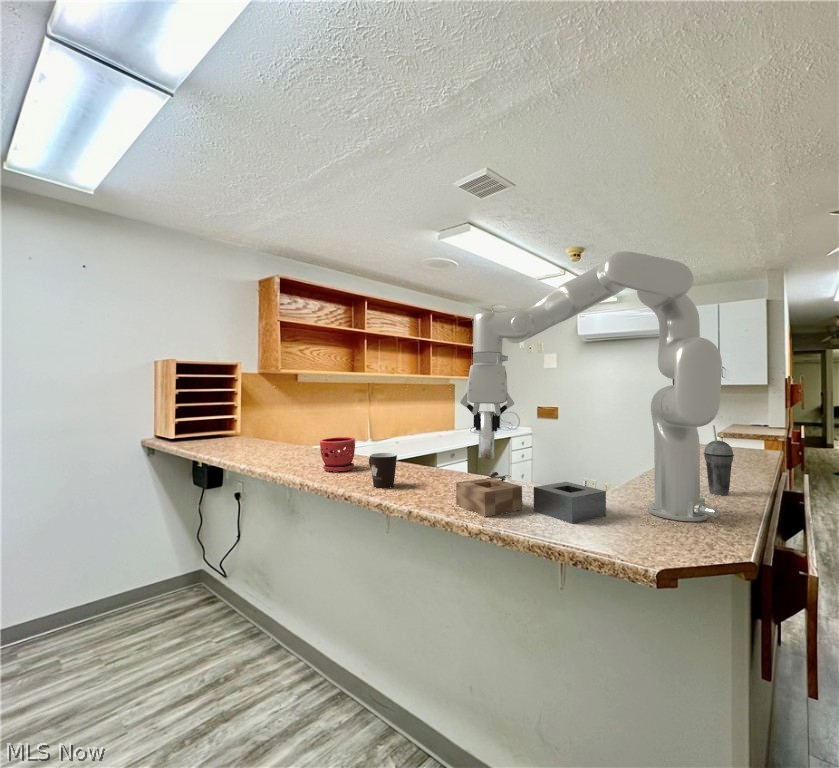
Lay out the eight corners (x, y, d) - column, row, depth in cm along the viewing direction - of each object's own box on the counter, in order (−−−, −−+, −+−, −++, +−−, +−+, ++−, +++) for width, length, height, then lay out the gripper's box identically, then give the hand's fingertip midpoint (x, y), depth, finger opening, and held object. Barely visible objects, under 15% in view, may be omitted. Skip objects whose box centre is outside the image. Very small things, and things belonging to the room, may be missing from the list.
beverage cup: (740, 497, 119) (739, 426, 119) (711, 496, 120) (711, 426, 121) (725, 491, 126) (725, 424, 127) (699, 490, 127) (698, 424, 128)
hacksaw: (493, 475, 153) (493, 471, 153) (521, 477, 149) (521, 473, 149) (471, 489, 131) (471, 484, 131) (504, 493, 127) (504, 488, 127)
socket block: (606, 515, 102) (605, 491, 103) (572, 523, 96) (571, 497, 97) (566, 504, 113) (566, 481, 113) (533, 510, 107) (533, 487, 107)
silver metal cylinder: (497, 458, 109) (497, 411, 109) (485, 459, 107) (485, 412, 107) (487, 455, 113) (488, 410, 113) (475, 456, 111) (476, 411, 111)
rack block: (522, 509, 108) (522, 486, 108) (485, 517, 102) (484, 492, 102) (491, 499, 118) (491, 477, 118) (456, 505, 112) (456, 482, 112)
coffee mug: (399, 488, 131) (399, 456, 131) (372, 490, 129) (372, 457, 129) (392, 480, 142) (392, 451, 142) (366, 482, 140) (366, 452, 140)
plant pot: (335, 465, 170) (335, 436, 170) (361, 468, 163) (361, 437, 164) (312, 471, 159) (312, 439, 159) (339, 474, 152) (339, 441, 152)
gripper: (520, 361, 112) (520, 430, 112) (458, 361, 116) (457, 428, 116) (520, 359, 104) (519, 433, 104) (453, 359, 109) (452, 430, 109)
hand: (486, 429), depth 110 cm, fingers closed on silver metal cylinder, 4 cm apart
